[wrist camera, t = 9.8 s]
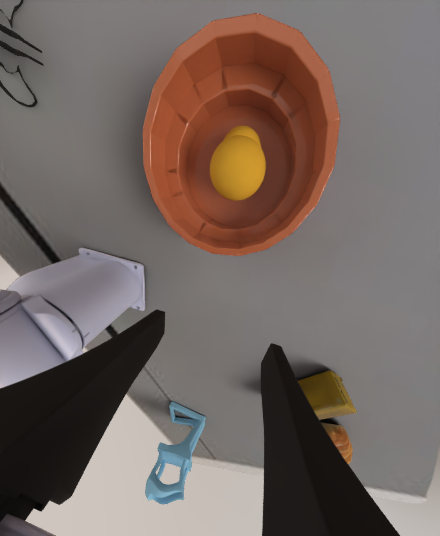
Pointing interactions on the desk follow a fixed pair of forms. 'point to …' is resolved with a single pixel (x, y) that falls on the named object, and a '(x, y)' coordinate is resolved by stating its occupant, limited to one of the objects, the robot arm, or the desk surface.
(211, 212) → the bowl
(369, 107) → the desk surface
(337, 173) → the desk surface
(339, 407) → the medication box
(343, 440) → the pastry
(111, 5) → the desk surface
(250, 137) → the blob
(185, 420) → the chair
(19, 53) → the creature
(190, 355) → the desk surface
